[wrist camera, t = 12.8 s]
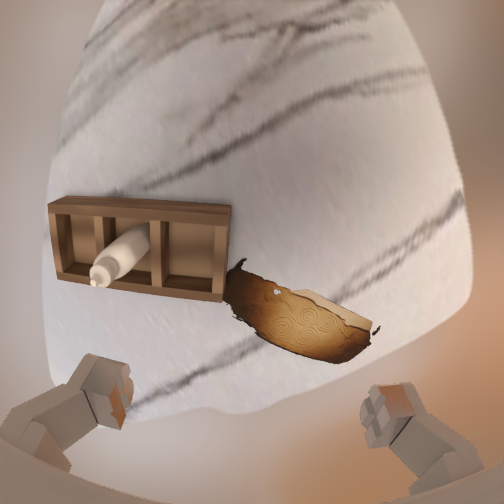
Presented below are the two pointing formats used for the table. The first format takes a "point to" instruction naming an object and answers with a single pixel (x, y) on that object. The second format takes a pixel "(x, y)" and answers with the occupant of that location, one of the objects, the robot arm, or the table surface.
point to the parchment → (296, 318)
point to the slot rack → (161, 243)
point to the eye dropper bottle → (120, 256)
